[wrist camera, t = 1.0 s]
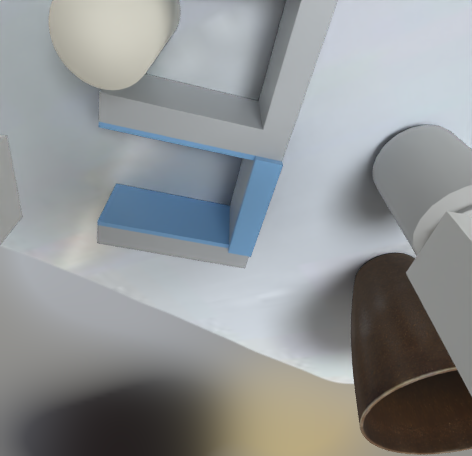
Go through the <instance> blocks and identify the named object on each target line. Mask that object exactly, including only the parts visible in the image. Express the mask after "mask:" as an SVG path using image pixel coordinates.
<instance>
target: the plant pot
mask: <svg viewBox="0 0 472 456" xmlns="http://www.w3.org/2000/svg"><path fill="white" fill-rule="evenodd" d="M414 260H415V258H413V257H412V256H409V255H406V254H401V253H391V254H385V255H381V256H378V257H376V258H374V259H372V260H370V261H368V262H367V263H366V264H365V265H363V266H362V267H361V268H360V270H359V271H358V273H357V274H356V277H355V282H354V289H353V299H352V313H351V350H352V366H353V377H354V385H355V393H356V401H357V409H358V415H359V423H360V430H361V432H362V434H363V435H364V437H365V438H366V439H367V440H368V441H369V442H370V443H372V444H374V445H375V446H377V447H379V448H382V449H385V450H388V451H392V452H397V453H405V454H440V453H450V452H456V451H462V450H467V449H472V396H471V394H470V392H469V391H468V389H467V387H466V385H465V383H464V381H463V379H462V377H461V376H460V374H459V372H458V370H457V368H456V366H455V364H454V362H453V361H452V359H451V357H450V355H449V353H448V351H447V349H446V347H445V346H444V344H443V342H442V340H441V338H440V336H439V334H438V332H437V331H436V329H435V327H434V325H433V323H432V321H431V319H430V317H429V315H428V314H427V312H426V310H425V308H424V306H423V304H422V302H421V300H420V299H419V297H418V295H417V293H416V291H415V289H414V287H413V285H412V284H411V282H410V280H409V278H408V276H407V274H406V272H407V270H408V269H409V267H410V266H411V264H412V263H413V261H414Z"/></svg>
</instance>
